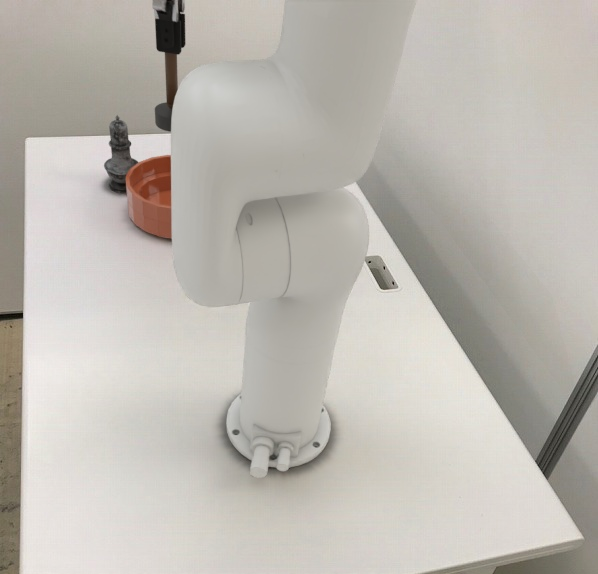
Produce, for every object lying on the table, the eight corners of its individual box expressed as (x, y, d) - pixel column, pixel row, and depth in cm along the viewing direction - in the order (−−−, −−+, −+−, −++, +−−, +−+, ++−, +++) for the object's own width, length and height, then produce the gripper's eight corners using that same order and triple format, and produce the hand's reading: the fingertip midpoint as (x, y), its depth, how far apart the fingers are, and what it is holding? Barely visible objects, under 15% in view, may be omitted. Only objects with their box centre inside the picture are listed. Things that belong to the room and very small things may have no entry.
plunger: (186, 134, 91) (184, 11, 79) (151, 128, 91) (144, 4, 79) (193, 118, 94) (193, -2, 83) (160, 113, 94) (154, -9, 83)
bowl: (218, 249, 100) (219, 215, 96) (116, 233, 100) (112, 198, 96) (236, 196, 111) (237, 163, 107) (144, 181, 111) (141, 148, 107)
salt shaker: (99, 188, 108) (90, 118, 99) (116, 172, 112) (109, 103, 103) (131, 197, 107) (125, 127, 99) (147, 181, 111) (142, 112, 102)
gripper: (150, -145, 77) (158, 24, 90) (111, -119, 66) (126, 67, 80) (212, -134, 77) (210, 32, 90) (183, -107, 66) (186, 77, 80)
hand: (171, 47), depth 85 cm, fingers closed on plunger
